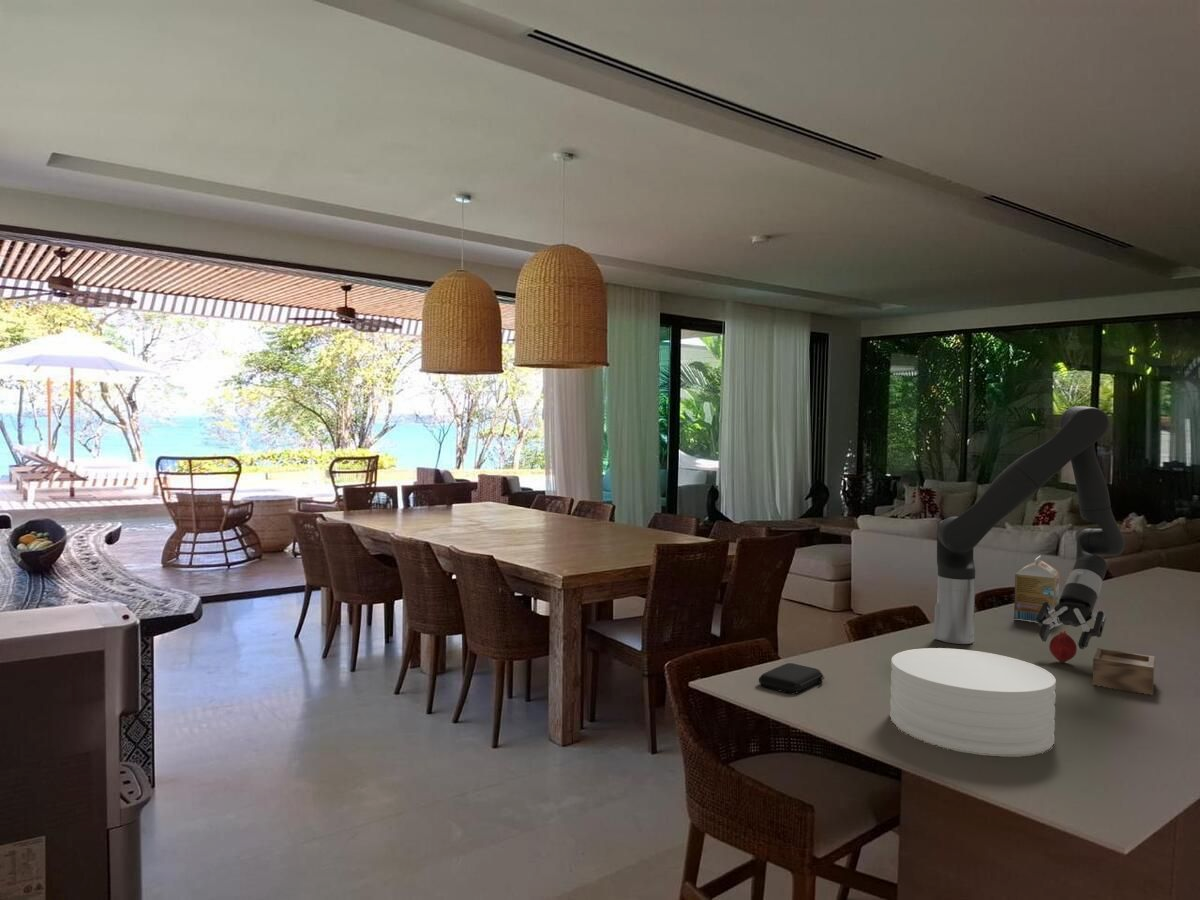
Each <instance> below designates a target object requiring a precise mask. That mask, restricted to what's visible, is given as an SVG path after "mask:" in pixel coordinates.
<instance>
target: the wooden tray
mask: <svg viewBox="0 0 1200 900" xmlns="http://www.w3.org/2000/svg"><path fill="white" fill-rule="evenodd" d="M1155 658H1156V657H1155V656H1154V655H1146V654H1140V653H1134V652H1133V653H1132V652H1126V651H1125V652H1124V651H1120V650H1112V649H1105V648H1098V647H1097V648H1096V651H1095V654H1094V655H1093V659H1092V662H1093V663H1092V686H1094V685H1097V686H1096V687H1100V686H1103V687H1102V688H1106V687H1107V689H1112V688H1113V690H1118V689H1119V691H1124V690H1125V692H1130V691H1131V692H1132V693H1136V692H1138V693H1137V694H1141V693H1144V694H1143V695H1147V694H1150V695H1149V696H1153V695H1154V687H1153V686H1154V685H1155V664H1156V663H1155Z"/></svg>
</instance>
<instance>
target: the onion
mask: <svg viewBox="0 0 1200 900" xmlns="http://www.w3.org/2000/svg"><path fill="white" fill-rule="evenodd" d="M1048 648H1049V652H1050V653H1051V655H1052V656H1053V657H1054V658H1055V659H1056V660H1057V661H1059V662H1060V663H1061V662H1062V664H1063V663H1066V662H1068V661H1070V660H1072V659H1073V658H1074V657H1075V656H1076V654H1077V650H1078V649H1077V648H1078V646H1077V644H1076V642H1075V640H1074V639H1073V637H1071V636H1070V635H1068V634H1067V631H1066V630H1065V629H1062V630H1060V632H1059V633H1058V634H1056V635H1054V636H1053V637H1052V638H1051V640H1050V642H1049V645H1048Z"/></svg>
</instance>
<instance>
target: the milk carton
mask: <svg viewBox="0 0 1200 900" xmlns="http://www.w3.org/2000/svg"><path fill="white" fill-rule="evenodd" d="M1041 558H1042V555H1039V556H1037V557H1036V558H1035V559H1034V561H1033V562H1031V563H1029V564H1027V565H1025V566H1023V567H1022V568H1021V569H1019V570H1018V571H1017V572H1016V573H1015V575H1014V578H1015V579H1014V612H1013V613H1014V616H1013V620H1014V619H1023V620H1031V621H1036V622H1037V620H1036V618H1037V616H1038V614H1039V611H1040V609H1041V607H1042V605H1043V603H1045V602H1047V603H1048V604H1049V605H1052V606H1056V605H1057V604H1058V603H1059V600H1060V575H1061V574H1060V572H1059V571H1058V570H1056V568H1054V566H1051V565H1050V564H1048V563H1047V562H1045V561H1043V560H1042V559H1041ZM1053 613H1055V611H1053V612H1052V613H1051V614H1049V615H1048V617H1047V619H1048V618H1049V617H1050V615H1052V614H1053ZM1057 619H1059V618H1057ZM1057 619H1056V620H1057Z"/></svg>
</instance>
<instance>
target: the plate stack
mask: <svg viewBox="0 0 1200 900" xmlns="http://www.w3.org/2000/svg"><path fill="white" fill-rule="evenodd" d="M890 663H891V664H890V666H891V667H890V668H891V671H890V681H891V683H890V695H891V696H890V702H889V703H890V709H889V710H890V711H889V716H890V717H891V719H892V721H893V722H894V723H895V724H896V725H897V726H898V727H899V728H901V729H902V730H904V731H906V732H908V733H910V734H912V735H914V736H916V737H919V738H921V739H924V740H926V741H929V742H931V743H934V744H938V745H942V746H945V747H949V748H955V749H960V750H966V751H973V752H979V753H989V754H1029V753H1035V752H1041V751H1044V750H1046V749H1048V748H1050V747H1051V746H1052V745H1053V744H1054V745H1055V734H1054V733H1055V727H1056V721H1055V717H1056V706H1055V704H1056V697H1057V696H1056V691H1055V690H1056V687H1057V685H1056V684H1057V680H1056V677H1055V676H1054V675H1053V673H1051V672H1050V671H1048V670H1046V669H1044V668H1043V667H1041V666H1038V665H1037V664H1035V663H1034V664H1033V663H1030V662H1028V661H1024V660H1021V659H1018V658H1014V657H1010V656H1006V655H1001V654H996V653H991V652H985V651H981V650H979V651H978V650H969V649H962V648H961V649H960V648H949V647H945V648H943V647H937V648H936V647H929V648H928V647H924V648H923V647H922V648H915V649H913V648H912V649H907V650H904V651H899V652H898V653H896V654H893V656H892V657H891V661H890ZM890 717H889V718H890Z"/></svg>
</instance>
